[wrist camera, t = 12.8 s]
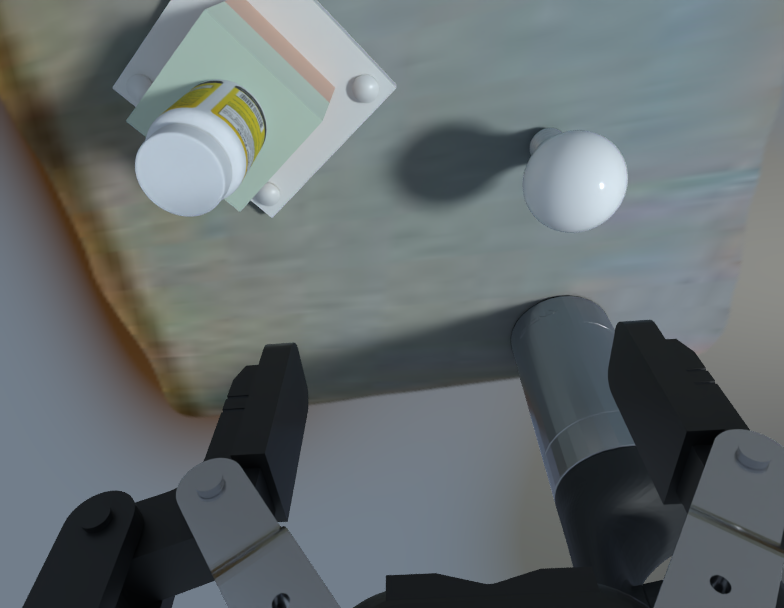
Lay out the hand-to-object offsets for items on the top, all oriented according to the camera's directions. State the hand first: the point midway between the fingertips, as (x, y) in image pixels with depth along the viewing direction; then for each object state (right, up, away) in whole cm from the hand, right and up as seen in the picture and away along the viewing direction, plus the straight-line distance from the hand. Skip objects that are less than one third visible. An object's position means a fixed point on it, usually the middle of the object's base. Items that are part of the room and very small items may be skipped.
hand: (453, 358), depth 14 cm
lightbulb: (+10, +14, +27) cm, 32 cm away
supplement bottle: (-11, +12, +17) cm, 24 cm away
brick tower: (-11, +17, +25) cm, 32 cm away
